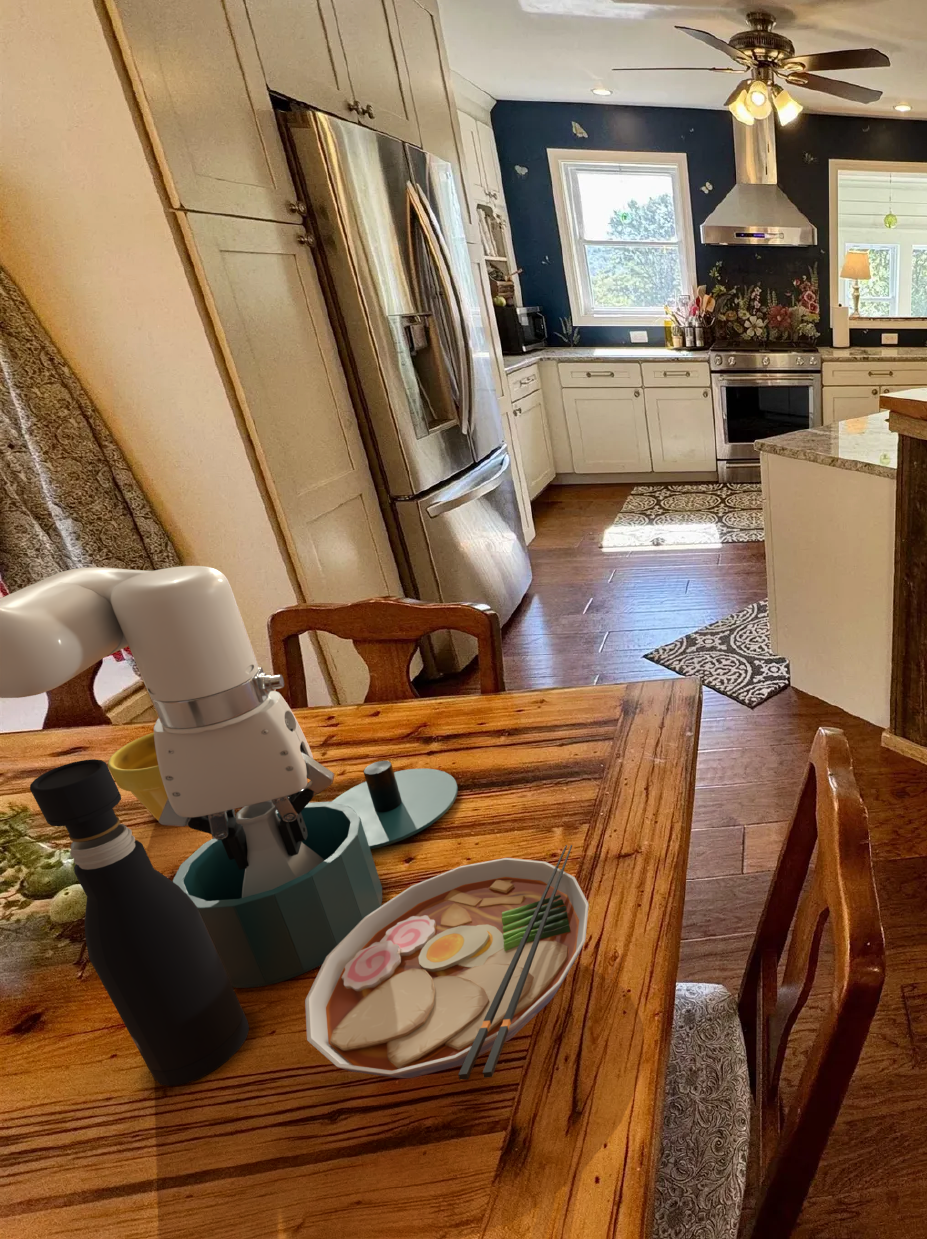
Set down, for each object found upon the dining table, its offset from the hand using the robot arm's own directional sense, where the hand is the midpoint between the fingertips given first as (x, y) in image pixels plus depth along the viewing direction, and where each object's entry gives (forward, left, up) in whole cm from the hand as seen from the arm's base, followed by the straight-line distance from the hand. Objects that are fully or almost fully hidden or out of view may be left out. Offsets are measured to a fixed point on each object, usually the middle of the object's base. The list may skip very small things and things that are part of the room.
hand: (272, 852), depth 71 cm
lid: (+7, +17, -10) cm, 21 cm away
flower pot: (-16, +30, -10) cm, 36 cm away
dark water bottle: (-5, -12, -10) cm, 17 cm away
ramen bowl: (+16, -19, -10) cm, 27 cm away
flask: (0, 0, -5) cm, 5 cm away
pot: (0, 0, -10) cm, 10 cm away
